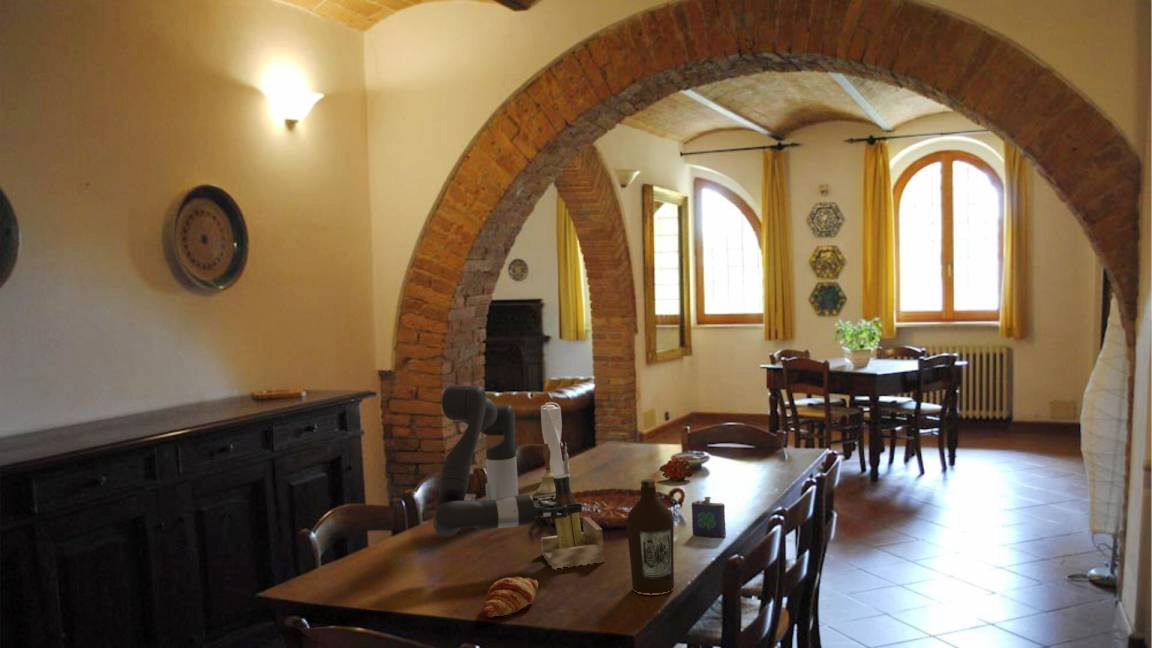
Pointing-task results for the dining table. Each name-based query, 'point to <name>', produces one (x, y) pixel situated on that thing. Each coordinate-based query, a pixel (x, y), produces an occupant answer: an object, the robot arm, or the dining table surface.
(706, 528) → the flask
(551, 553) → the light wooden holder
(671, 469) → the dragon fruit
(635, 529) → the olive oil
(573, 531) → the sauce bottle
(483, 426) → the robot arm
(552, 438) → the skyscraper
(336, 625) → the dining table surface
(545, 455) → the hand bell
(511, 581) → the croissant
